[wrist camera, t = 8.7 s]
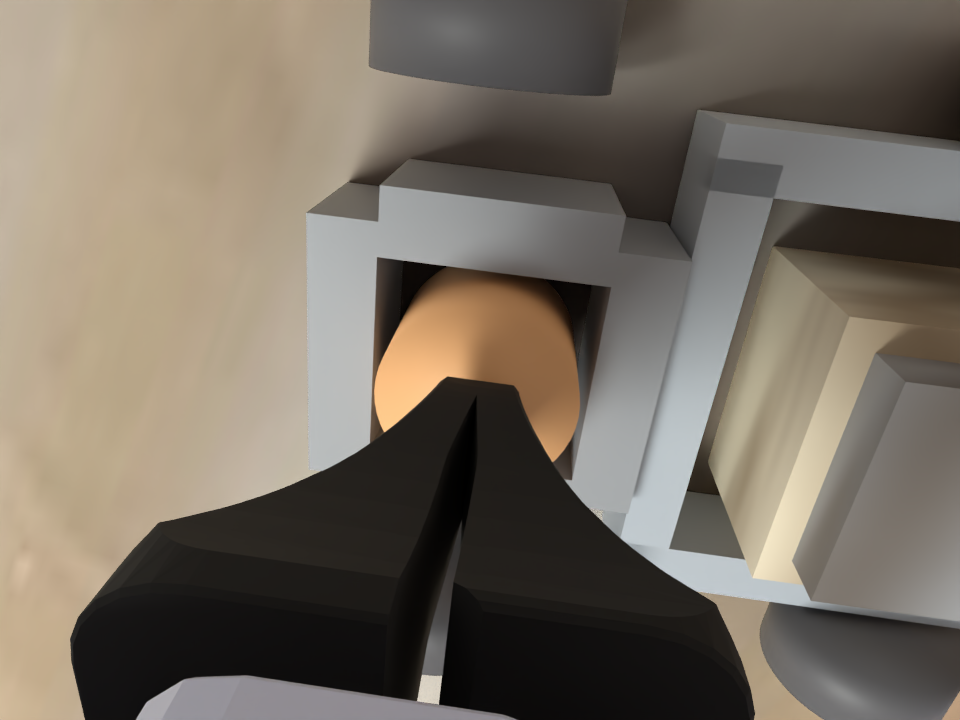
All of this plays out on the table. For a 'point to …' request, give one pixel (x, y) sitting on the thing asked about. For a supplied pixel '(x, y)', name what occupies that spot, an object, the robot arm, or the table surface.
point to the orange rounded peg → (486, 348)
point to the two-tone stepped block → (848, 432)
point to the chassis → (622, 316)
